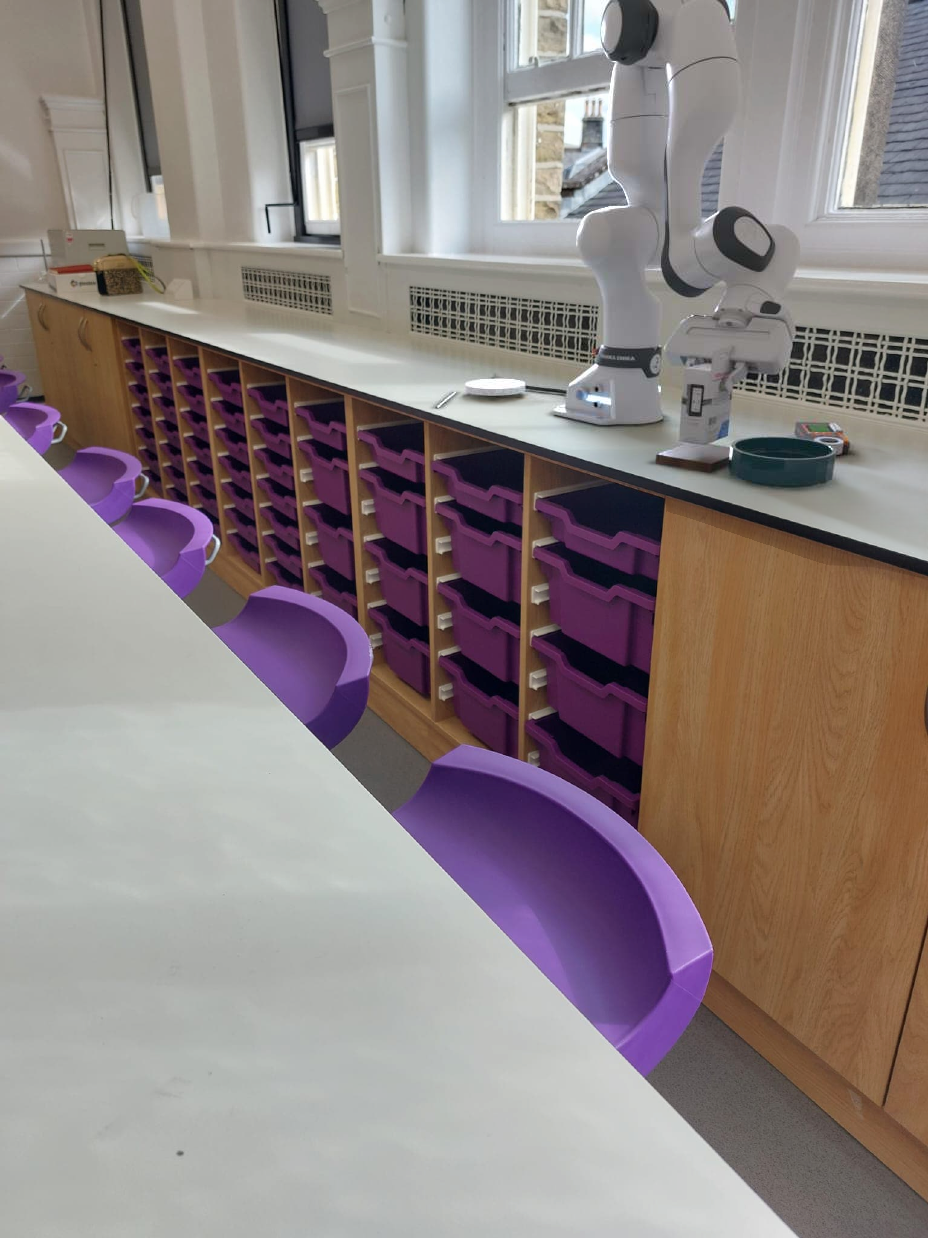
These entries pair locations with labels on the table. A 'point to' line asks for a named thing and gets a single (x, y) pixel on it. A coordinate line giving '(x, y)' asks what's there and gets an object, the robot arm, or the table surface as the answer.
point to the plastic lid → (495, 387)
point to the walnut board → (696, 457)
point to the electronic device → (823, 435)
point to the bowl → (782, 461)
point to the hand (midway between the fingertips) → (706, 387)
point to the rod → (446, 400)
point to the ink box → (706, 400)
